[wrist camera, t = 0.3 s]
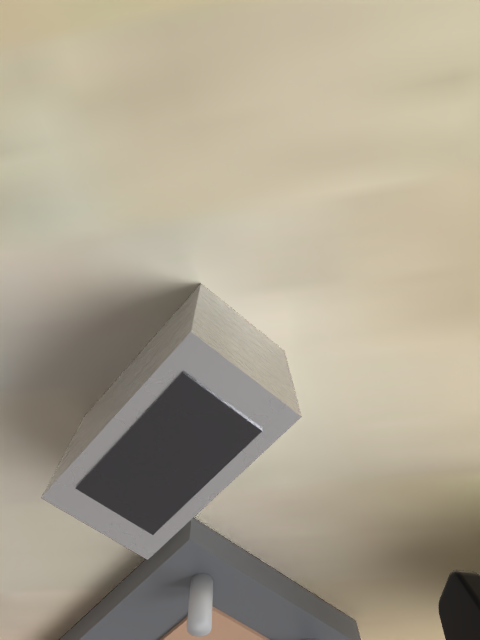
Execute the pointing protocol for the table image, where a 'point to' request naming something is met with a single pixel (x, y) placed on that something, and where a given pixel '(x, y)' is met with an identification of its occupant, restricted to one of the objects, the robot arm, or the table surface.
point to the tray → (210, 598)
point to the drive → (176, 426)
